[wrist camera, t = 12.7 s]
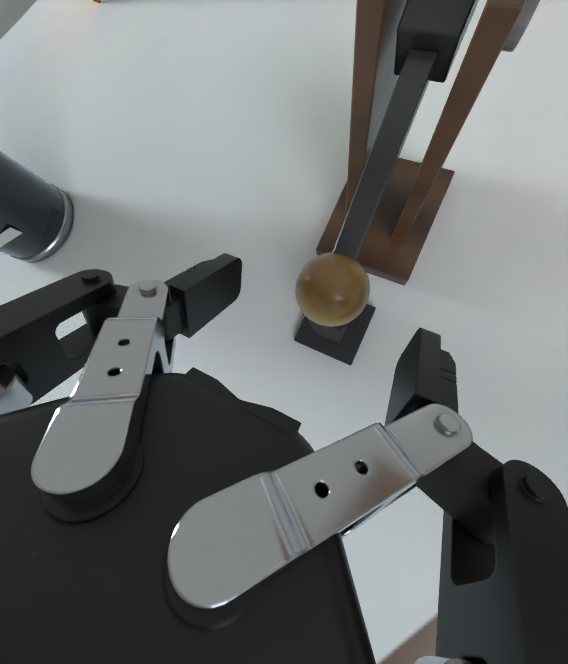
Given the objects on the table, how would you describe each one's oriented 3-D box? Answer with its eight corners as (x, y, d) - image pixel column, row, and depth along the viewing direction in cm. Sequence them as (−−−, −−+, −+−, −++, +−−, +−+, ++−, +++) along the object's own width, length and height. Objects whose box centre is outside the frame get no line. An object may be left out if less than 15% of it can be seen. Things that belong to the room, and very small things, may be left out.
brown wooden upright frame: (404, 285, 22) (546, 101, 7) (316, 255, 24) (281, 58, 9) (449, 181, 23) (671, -200, 8) (360, 158, 25) (396, -182, 10)
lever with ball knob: (354, 330, 15) (348, 345, 12) (296, 307, 16) (275, 314, 13) (491, 17, 11) (541, -99, 8) (404, 8, 12) (414, -100, 8)
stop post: (294, 340, 24) (272, 324, 15) (318, 287, 24) (308, 244, 16) (350, 365, 22) (358, 362, 14) (375, 309, 23) (396, 274, 15)
